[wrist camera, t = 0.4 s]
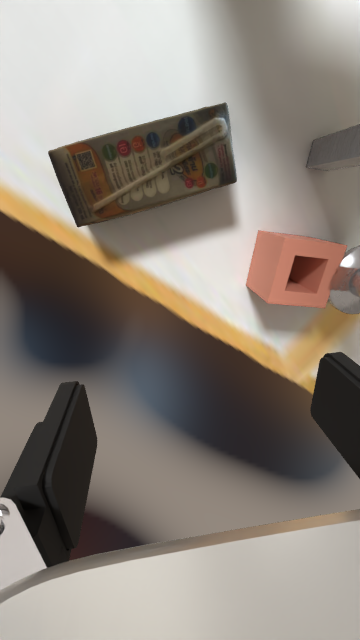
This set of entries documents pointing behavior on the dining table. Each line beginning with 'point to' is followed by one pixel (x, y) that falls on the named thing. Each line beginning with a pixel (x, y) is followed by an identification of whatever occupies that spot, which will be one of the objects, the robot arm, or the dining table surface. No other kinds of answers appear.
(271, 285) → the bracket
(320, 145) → the gray square bar
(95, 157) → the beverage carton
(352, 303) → the silver flanged rod
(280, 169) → the dining table surface
